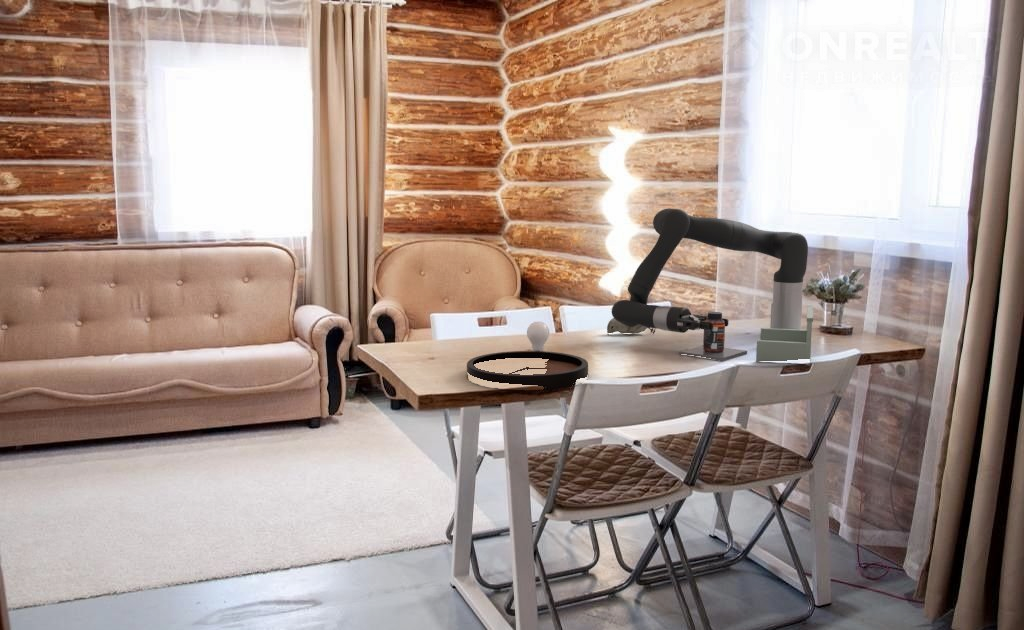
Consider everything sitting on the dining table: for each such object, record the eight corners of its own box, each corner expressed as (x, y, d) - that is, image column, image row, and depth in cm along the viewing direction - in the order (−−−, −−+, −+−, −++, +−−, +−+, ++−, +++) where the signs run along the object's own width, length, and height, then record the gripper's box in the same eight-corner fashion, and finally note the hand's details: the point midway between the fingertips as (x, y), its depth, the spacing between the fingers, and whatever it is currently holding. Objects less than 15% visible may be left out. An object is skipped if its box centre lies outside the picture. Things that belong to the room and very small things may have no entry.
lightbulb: (544, 357, 247) (544, 319, 245) (552, 361, 241) (552, 322, 239) (523, 358, 245) (523, 320, 243) (532, 362, 239) (532, 324, 237)
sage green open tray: (756, 362, 238) (757, 315, 236) (760, 347, 259) (762, 304, 257) (810, 365, 234) (813, 318, 232) (810, 350, 254) (812, 306, 252)
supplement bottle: (719, 353, 245) (720, 314, 243) (699, 351, 248) (700, 312, 247) (727, 350, 250) (728, 312, 248) (708, 348, 253) (709, 310, 251)
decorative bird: (605, 334, 284) (606, 312, 283) (653, 333, 286) (654, 311, 284) (608, 337, 279) (609, 314, 278) (657, 336, 280) (657, 314, 279)
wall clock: (550, 346, 243) (611, 367, 215) (550, 360, 243) (611, 383, 216) (448, 357, 229) (499, 381, 201) (448, 372, 229) (499, 397, 202)
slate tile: (679, 354, 249) (679, 351, 249) (704, 347, 259) (704, 344, 259) (723, 361, 239) (723, 357, 239) (747, 353, 249) (747, 350, 249)
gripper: (659, 309, 252) (708, 314, 241) (685, 303, 262) (733, 308, 251) (658, 334, 253) (707, 340, 242) (684, 328, 263) (732, 334, 252)
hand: (720, 324), depth 246 cm, fingers open, 8 cm apart
